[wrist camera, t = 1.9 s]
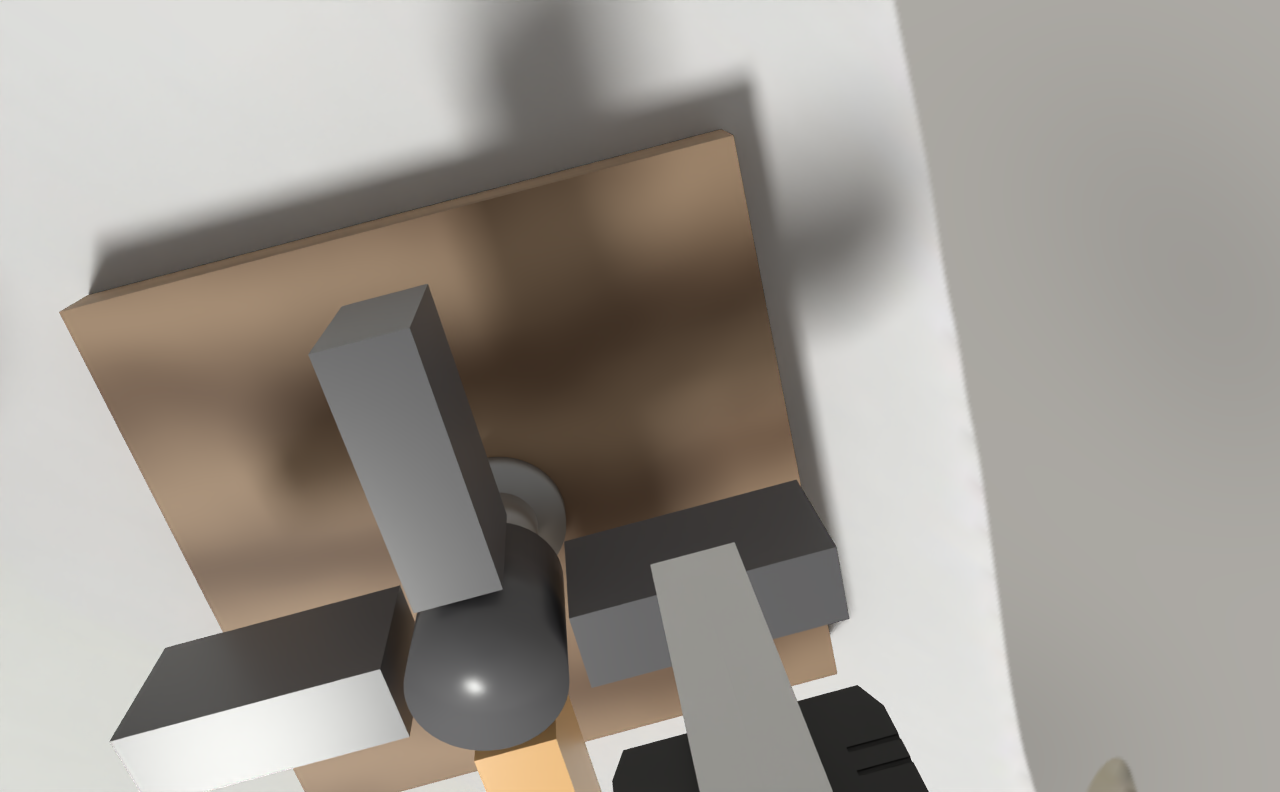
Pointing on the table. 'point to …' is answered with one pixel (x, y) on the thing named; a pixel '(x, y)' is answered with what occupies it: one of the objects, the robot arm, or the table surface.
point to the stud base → (494, 385)
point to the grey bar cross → (451, 598)
